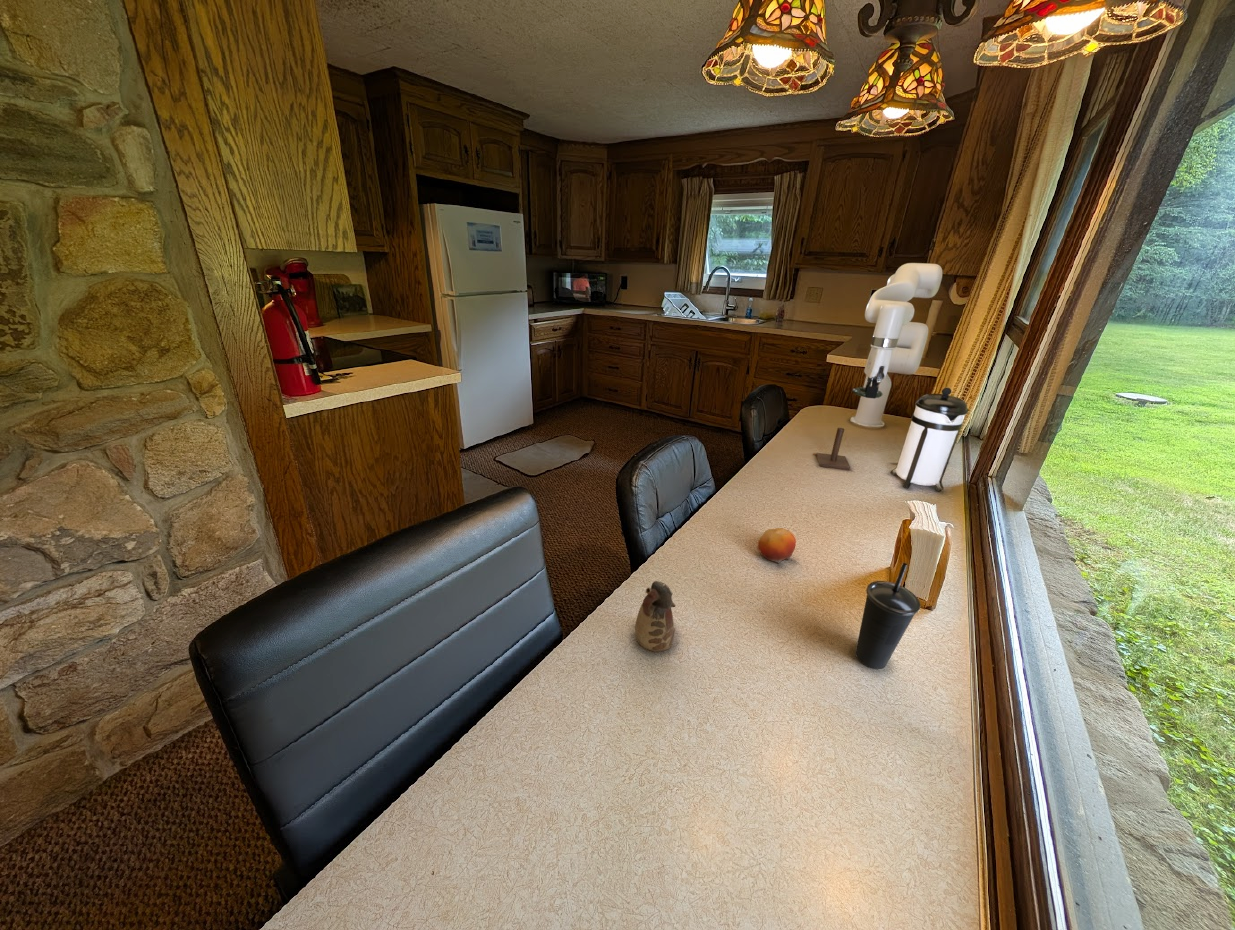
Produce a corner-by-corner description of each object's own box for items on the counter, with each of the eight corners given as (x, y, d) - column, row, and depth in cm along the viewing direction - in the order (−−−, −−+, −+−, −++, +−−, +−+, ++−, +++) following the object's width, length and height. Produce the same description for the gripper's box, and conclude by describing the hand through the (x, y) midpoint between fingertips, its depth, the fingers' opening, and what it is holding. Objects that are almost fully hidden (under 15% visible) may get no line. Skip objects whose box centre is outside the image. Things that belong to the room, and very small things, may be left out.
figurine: (682, 643, 81) (688, 589, 76) (648, 658, 78) (653, 603, 73) (659, 617, 87) (664, 565, 82) (627, 630, 84) (630, 577, 79)
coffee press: (954, 485, 141) (991, 390, 128) (928, 498, 133) (964, 398, 120) (898, 464, 154) (926, 376, 141) (871, 474, 146) (898, 382, 133)
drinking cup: (901, 658, 80) (939, 565, 71) (886, 684, 75) (925, 587, 66) (856, 634, 84) (886, 543, 76) (839, 656, 80) (870, 563, 71)
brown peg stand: (816, 455, 159) (824, 422, 153) (844, 459, 157) (853, 425, 151) (819, 466, 151) (828, 431, 145) (849, 470, 149) (858, 435, 143)
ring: (850, 390, 168) (851, 385, 167) (877, 392, 166) (879, 388, 165) (855, 396, 159) (856, 392, 159) (884, 399, 157) (885, 395, 157)
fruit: (785, 569, 99) (775, 533, 99) (757, 568, 105) (748, 534, 106) (808, 557, 103) (799, 523, 103) (780, 557, 110) (771, 524, 110)
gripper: (866, 338, 159) (853, 389, 167) (877, 346, 145) (862, 402, 153) (890, 339, 158) (875, 392, 165) (903, 348, 144) (887, 404, 151)
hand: (869, 396), depth 159 cm, fingers closed on ring, 2 cm apart
